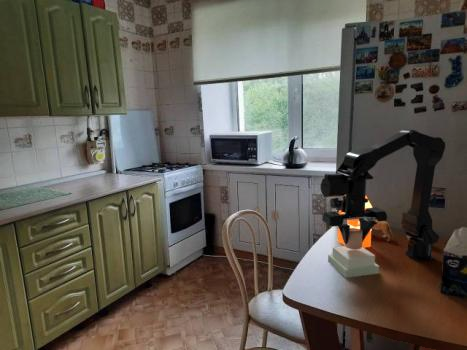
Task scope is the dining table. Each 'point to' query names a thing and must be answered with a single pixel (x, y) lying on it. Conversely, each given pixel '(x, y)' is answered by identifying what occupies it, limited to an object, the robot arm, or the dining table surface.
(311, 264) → the dining table surface
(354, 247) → the pale pink cylinder
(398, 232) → the dining table surface
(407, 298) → the dining table surface
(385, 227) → the lion figurine
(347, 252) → the cream slab
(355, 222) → the orange juice
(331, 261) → the sage slab
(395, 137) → the robot arm
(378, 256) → the dining table surface
